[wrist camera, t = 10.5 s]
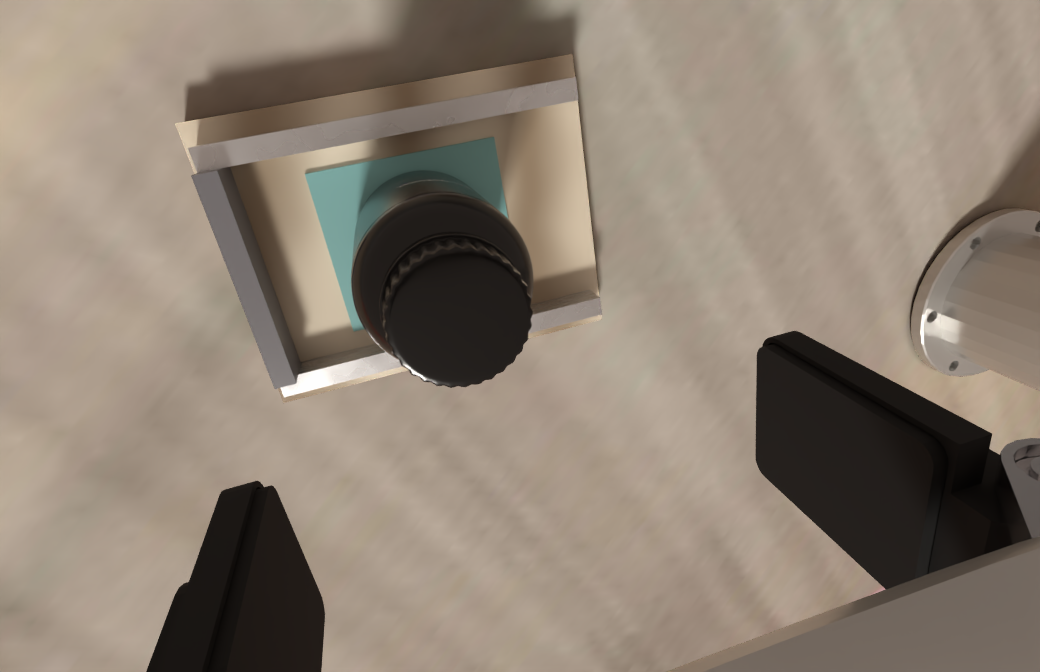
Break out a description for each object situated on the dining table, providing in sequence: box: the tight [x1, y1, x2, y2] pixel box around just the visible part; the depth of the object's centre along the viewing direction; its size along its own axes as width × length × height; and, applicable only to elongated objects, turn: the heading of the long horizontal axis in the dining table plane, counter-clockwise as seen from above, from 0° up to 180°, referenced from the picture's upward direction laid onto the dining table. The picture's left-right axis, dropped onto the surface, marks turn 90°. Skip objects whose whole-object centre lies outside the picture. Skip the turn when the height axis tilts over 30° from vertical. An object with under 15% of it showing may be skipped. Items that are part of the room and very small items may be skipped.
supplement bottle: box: [351, 170, 534, 388], centre depth 23 cm, size 7×7×12 cm
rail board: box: [175, 54, 602, 403], centre depth 28 cm, size 18×14×4 cm
